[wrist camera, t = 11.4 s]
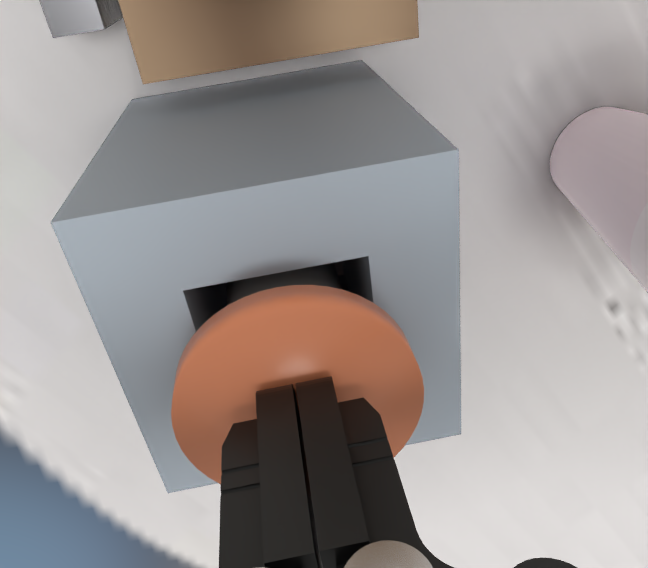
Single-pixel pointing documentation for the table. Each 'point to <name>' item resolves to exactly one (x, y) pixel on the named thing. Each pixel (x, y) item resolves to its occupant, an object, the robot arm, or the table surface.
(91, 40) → the table surface
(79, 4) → the rail
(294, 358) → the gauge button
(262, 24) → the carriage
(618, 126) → the smoothie
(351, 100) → the grey button box
